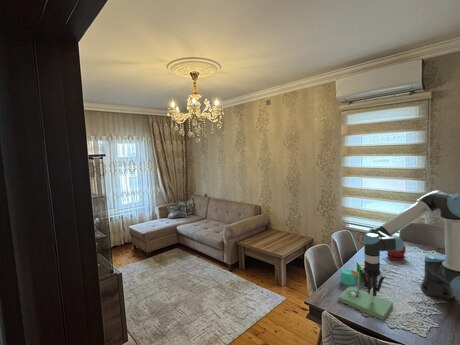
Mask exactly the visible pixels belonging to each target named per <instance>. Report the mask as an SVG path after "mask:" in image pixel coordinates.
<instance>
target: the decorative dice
mask: <svg viewBox="0 0 460 345" xmlns="http://www.w3.org/2000/svg"><path fill="white" fill-rule="evenodd" d="M339 278H340V280H339V281H340V282H341V283H342V284H343V285H345V286H348V287H349V286H352V287H354V285H355V284H356V280H357V276H356V275H353V274H352V269H349V268H342V270H341V272H340V276H339Z"/></svg>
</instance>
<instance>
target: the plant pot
mask: <svg viewBox="0 0 460 345" xmlns="http://www.w3.org/2000/svg"><path fill="white" fill-rule="evenodd" d="M386 253H387V254H386V255H387V257H388V258H389V259H391V260H395V261H402V260H404V259H405V254H406V244H405V243H404V248H403V250H401V251H386Z"/></svg>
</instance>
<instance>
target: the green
mask: <svg viewBox="0 0 460 345" xmlns="http://www.w3.org/2000/svg"><path fill="white" fill-rule="evenodd" d="M351 270H352V269H351ZM352 274H353V275H356V277H357V287H354V286H348V287H347V288H346V289H345V290H343V291H342V292H341V293H340V294H339V295H338V296H337V300H338V301H339V302H342V303H344V304H346V305H348V306H350V307H353V308H355V309H358V310H359V311H362V312H364V313H367V314H368V315H370V316H372V317H375V318H377V319H380V320H382V321H384V320H385V318H386V317H387V316H388V314H389V313H390V311H391V310H392V308H393V307H394V302H393V301H390V300H389V299H385V298H383V297H380V296H378V295H376V296H375V300H374V301H373V302H372V301H370V294H368V292H367V291H365V290H362V289H360V279H359V272H357V270H352ZM351 292H354V293H355V294H356V297H352V296H350V294H351Z"/></svg>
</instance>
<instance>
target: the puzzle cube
mask: <svg viewBox="0 0 460 345" xmlns="http://www.w3.org/2000/svg"><path fill="white" fill-rule="evenodd" d="M364 267H365V266H364V262H362V261H360V262H359V261H356V272H359V282H361V283H363V284H364V282H363V278H362V274H361V273H360V269H364ZM365 274H366V272H365ZM366 278H367V274H366ZM367 281H368V278H367ZM372 284H373V279H372Z"/></svg>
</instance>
